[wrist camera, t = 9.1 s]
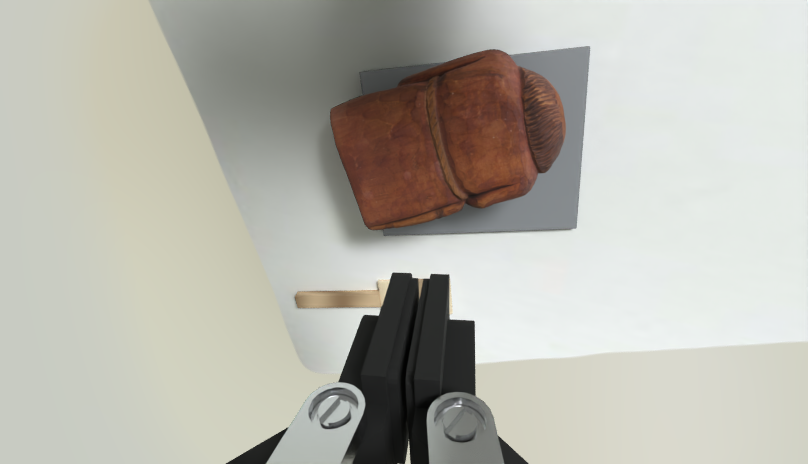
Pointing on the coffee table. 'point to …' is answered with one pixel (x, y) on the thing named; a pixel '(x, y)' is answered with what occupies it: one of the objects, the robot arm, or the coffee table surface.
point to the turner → (350, 297)
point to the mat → (553, 190)
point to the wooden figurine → (448, 139)
